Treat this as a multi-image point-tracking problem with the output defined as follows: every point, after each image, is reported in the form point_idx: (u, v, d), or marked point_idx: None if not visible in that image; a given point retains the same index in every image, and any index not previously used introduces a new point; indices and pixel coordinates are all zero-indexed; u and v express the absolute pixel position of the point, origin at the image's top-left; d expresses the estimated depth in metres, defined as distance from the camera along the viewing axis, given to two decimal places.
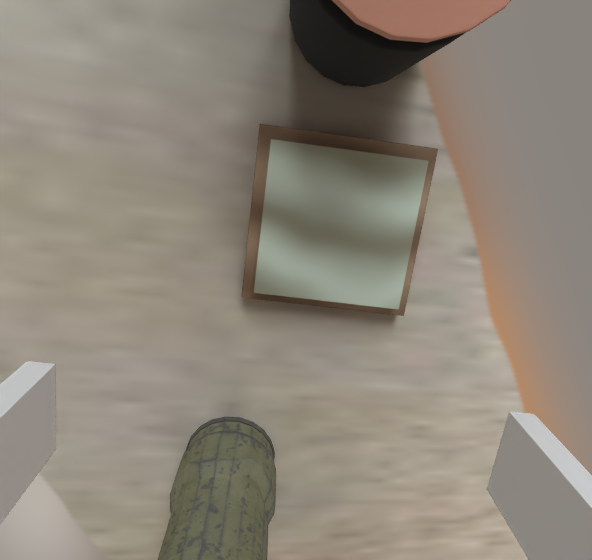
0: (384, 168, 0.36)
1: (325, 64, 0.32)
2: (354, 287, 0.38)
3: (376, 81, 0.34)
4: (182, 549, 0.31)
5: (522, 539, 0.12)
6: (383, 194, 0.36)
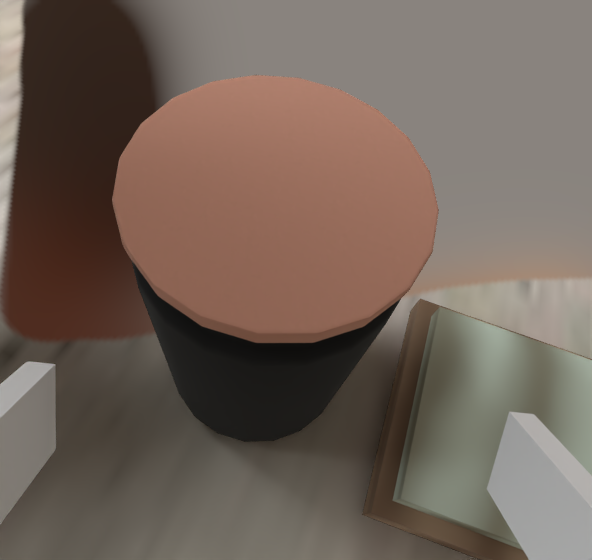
0: (445, 356, 0.29)
1: (329, 399, 0.25)
2: None
3: None
4: None
5: (522, 539, 0.12)
6: (476, 363, 0.29)
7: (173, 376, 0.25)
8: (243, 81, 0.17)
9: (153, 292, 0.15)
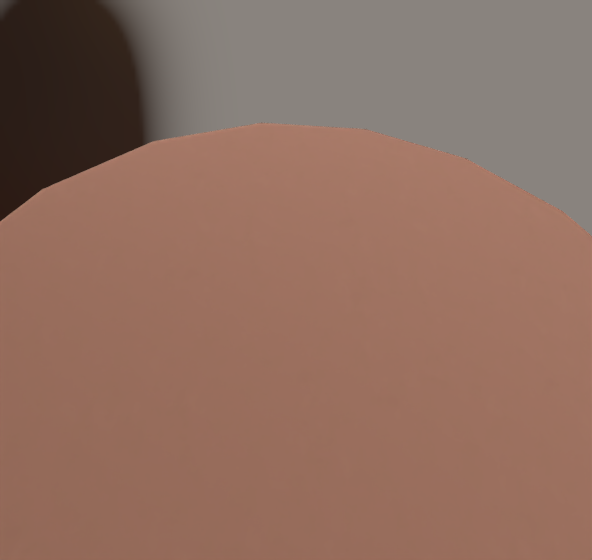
0: None
1: None
2: None
3: None
4: None
5: None
6: None
7: None
8: (231, 140, 0.07)
9: None
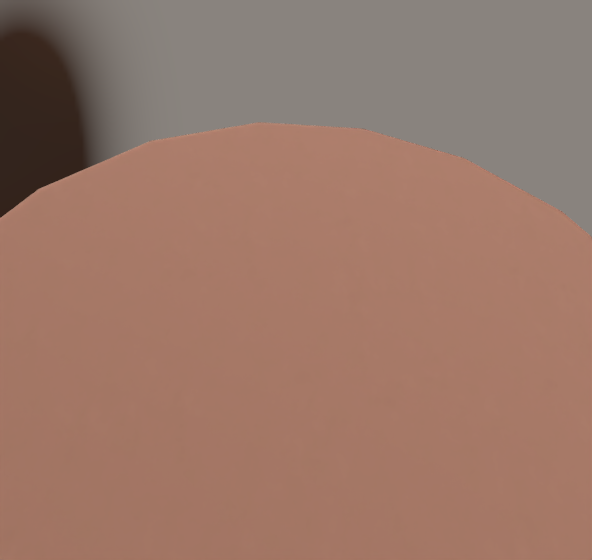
0: None
1: None
2: None
3: None
4: None
5: None
6: None
7: None
8: (228, 140, 0.07)
9: None
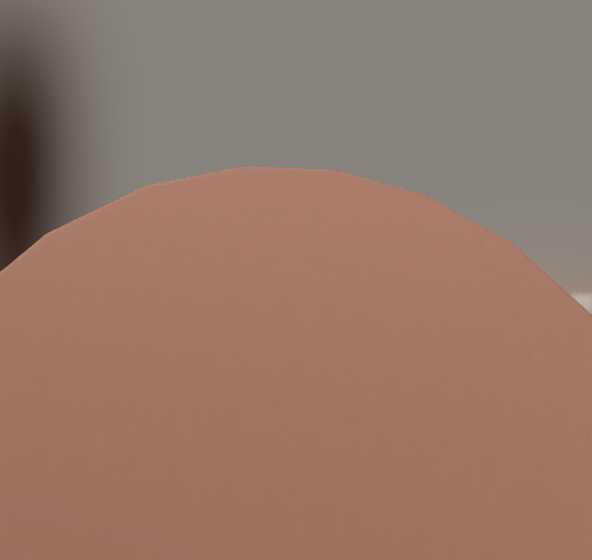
0: None
1: None
2: None
3: None
4: None
5: None
6: None
7: None
8: (215, 184, 0.08)
9: None
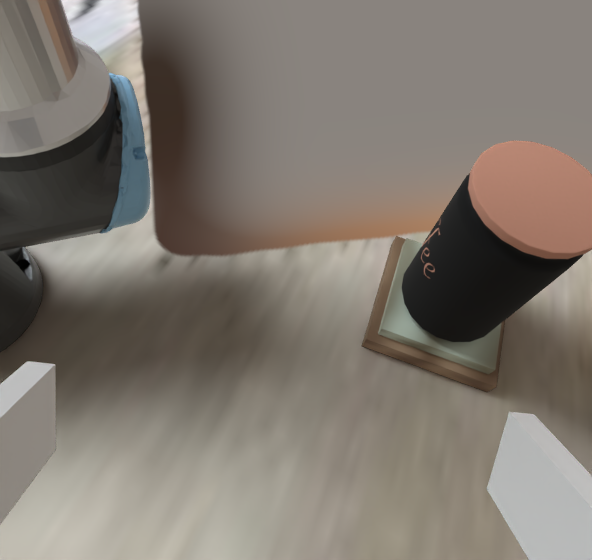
0: (408, 263, 0.52)
1: None
2: None
3: None
4: None
5: (522, 539, 0.12)
6: None
7: (426, 299, 0.44)
8: (508, 144, 0.37)
9: (485, 240, 0.35)
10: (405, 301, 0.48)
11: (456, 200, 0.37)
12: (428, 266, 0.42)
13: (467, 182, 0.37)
